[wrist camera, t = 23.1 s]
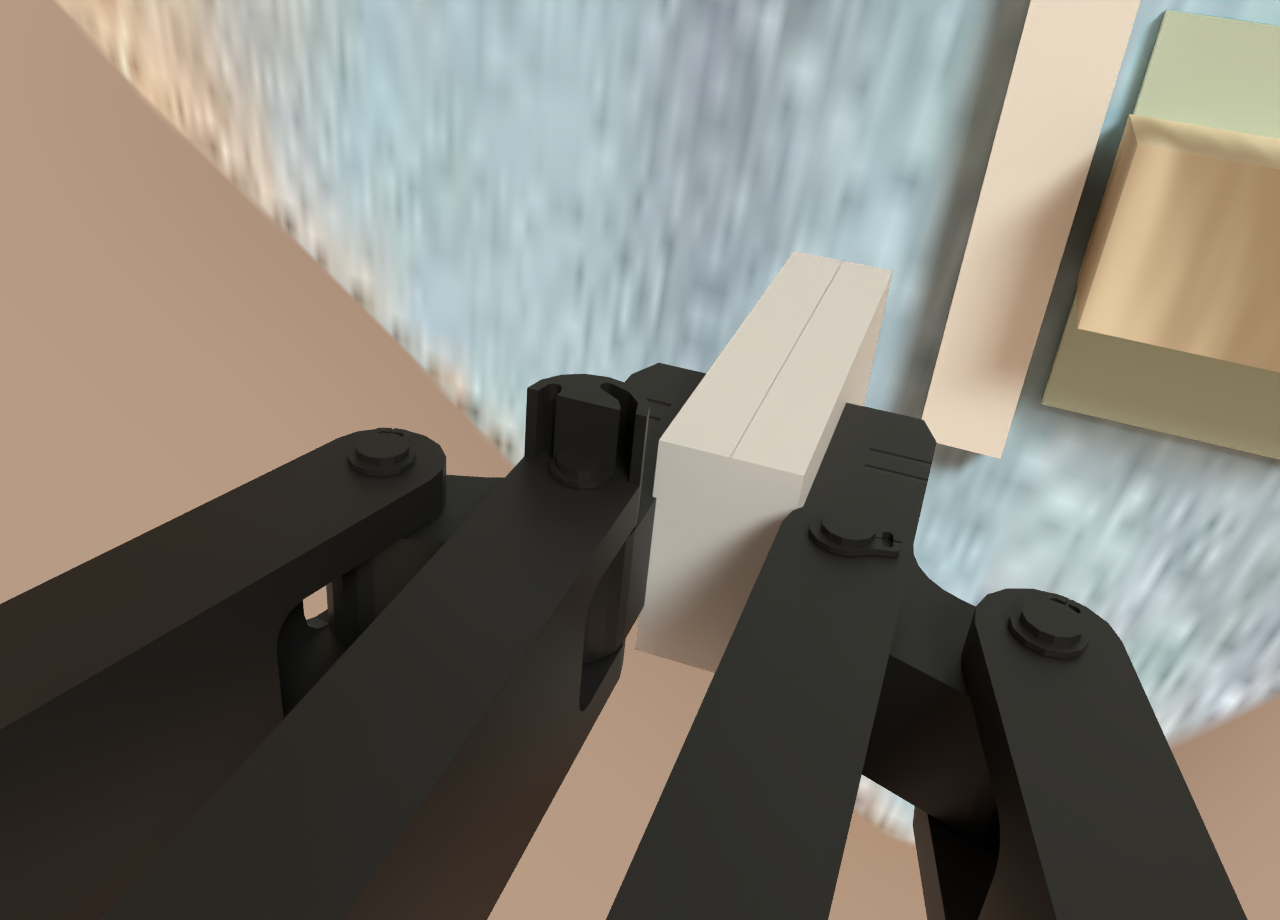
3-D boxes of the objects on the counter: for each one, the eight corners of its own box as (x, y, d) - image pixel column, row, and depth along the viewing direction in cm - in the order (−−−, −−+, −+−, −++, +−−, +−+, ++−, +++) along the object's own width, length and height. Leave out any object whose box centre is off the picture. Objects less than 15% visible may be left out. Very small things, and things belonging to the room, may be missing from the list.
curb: (922, 417, 35) (916, 438, 33) (1050, -73, 28) (1049, -72, 26) (1003, 437, 34) (1000, 458, 33) (1154, -60, 27) (1158, -58, 26)
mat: (1042, 399, 33) (1041, 404, 33) (1165, 9, 28) (1166, 11, 27) (1331, 466, 31) (1334, 472, 31) (1523, 60, 26) (1529, 62, 25)
